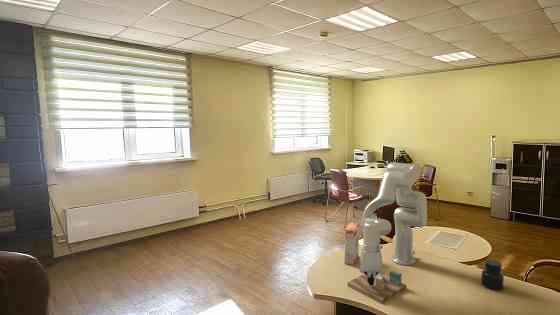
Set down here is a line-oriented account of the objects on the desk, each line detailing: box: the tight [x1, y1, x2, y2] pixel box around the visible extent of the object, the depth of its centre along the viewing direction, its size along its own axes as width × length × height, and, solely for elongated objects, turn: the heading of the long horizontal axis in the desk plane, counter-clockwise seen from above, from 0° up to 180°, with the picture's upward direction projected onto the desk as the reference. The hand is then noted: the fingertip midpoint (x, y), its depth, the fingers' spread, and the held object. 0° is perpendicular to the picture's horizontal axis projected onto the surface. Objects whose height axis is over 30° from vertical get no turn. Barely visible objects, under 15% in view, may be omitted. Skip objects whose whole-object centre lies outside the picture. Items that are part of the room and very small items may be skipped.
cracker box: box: [344, 222, 360, 266], centre depth 184 cm, size 14×6×21 cm, turn 155°
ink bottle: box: [480, 259, 505, 291], centre depth 152 cm, size 10×9×12 cm
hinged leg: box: [371, 272, 384, 291], centre depth 154 cm, size 16×3×4 cm, turn 175°
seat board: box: [347, 269, 407, 305], centre depth 154 cm, size 20×20×7 cm
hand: (370, 284), depth 151 cm, fingers closed
